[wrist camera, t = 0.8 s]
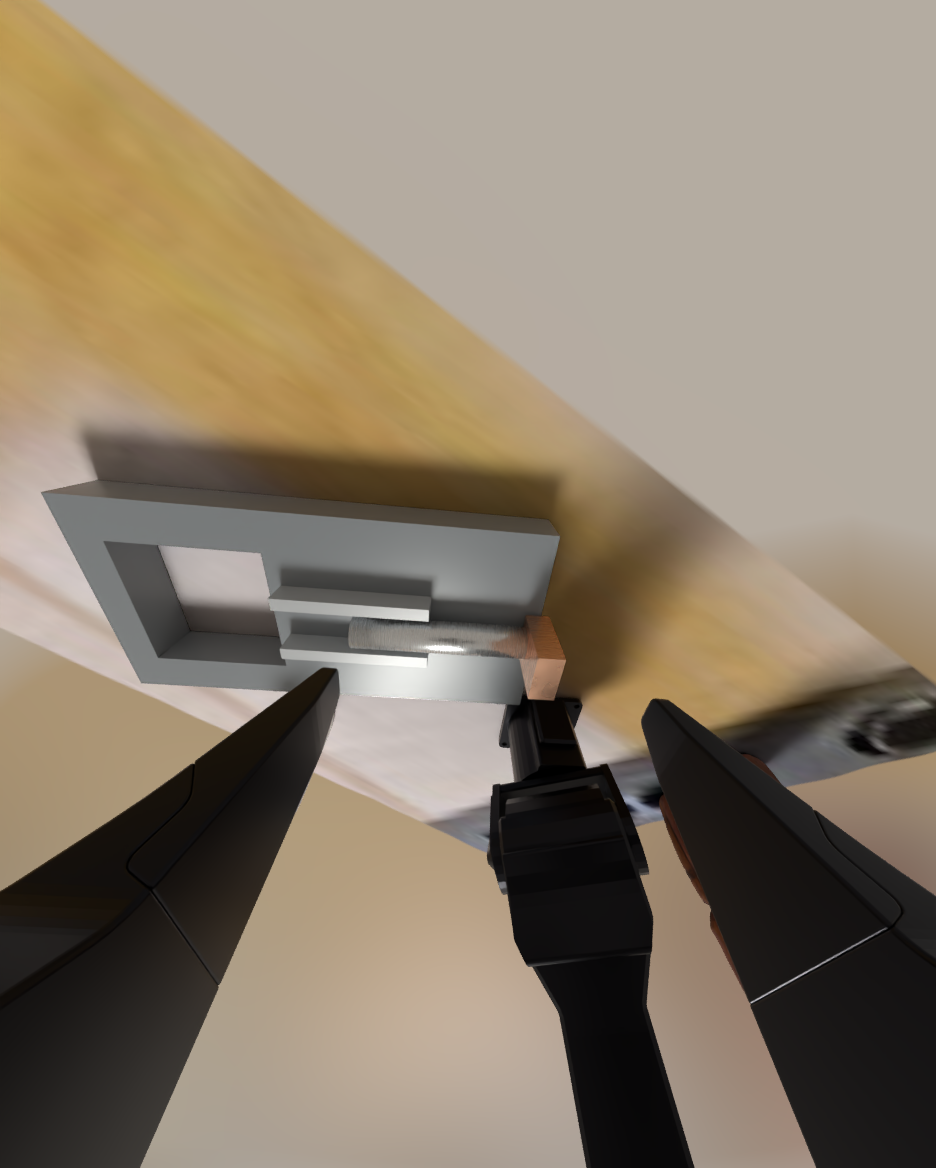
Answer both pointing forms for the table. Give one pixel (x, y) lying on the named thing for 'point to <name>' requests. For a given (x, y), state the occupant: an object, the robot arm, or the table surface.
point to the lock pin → (473, 644)
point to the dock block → (310, 585)
